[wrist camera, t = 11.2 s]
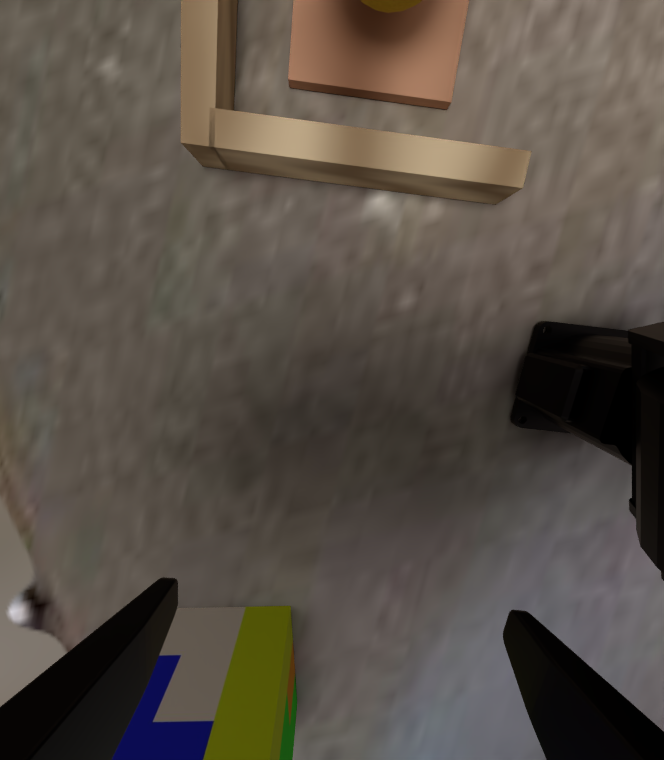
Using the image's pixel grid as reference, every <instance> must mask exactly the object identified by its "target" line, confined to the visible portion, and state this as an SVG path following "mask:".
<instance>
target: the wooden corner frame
mask: <svg viewBox="0 0 664 760" xmlns="http://www.w3.org/2000/svg"><path fill="white" fill-rule="evenodd" d="M468 3H469V0H422V1H421V2H420V3H418V4H417V5H415V6H413V7H411V8H408V9H406V10H404V11H400V12H391V13H386V12H382V11H377V10H374V9H373V8H371V7H369V6H367V5H365V4H364V3H362V2H361V1H360V0H294V4H293V18H292V32H291V47H290V61H289V76H288V81H289V86H290V88H296V89H303V90H310V91H317V92H325V93H332V94H339V95H346V96H353V97H361V98H368V99H375V100H382V101H389V102H396V103H404V104H411V105H418V106H425V107H432V108H440V109H447V108H448V107H449V105H450V103H451V100H452V95H453V89H454V83H455V77H456V72H457V66H458V60H459V55H460V49H461V43H462V37H463V32H464V26H465V20H466V14H467V9H468ZM237 5H238V0H181V143H182V144H183V145H184V147H185V148H186V149H187V150H188V151H189V152H190V153H191V154H192V155H193V156H194V157H195V158H196V159H197V160H198V162H199V163H200V164H201V165H202V166H204V167H212V168H219V169H227V170H235V171H242V172H250V173H257V174H265V175H273V176H280V177H288V178H296V179H303V180H311V181H319V182H326V183H334V184H342V185H349V186H357V187H365V188H372V189H380V190H387V191H395V192H403V193H410V194H418V195H426V196H433V197H441V198H449V199H456V200H464V201H472V202H479V203H487V204H495V205H496V204H497V203H499V202H501V201H502V200H504V199H506V198H507V197H509V196H511V195H512V194H514V193H516V192H517V191H519V190H520V189H522V188H523V185H524V181H525V177H526V172H527V168H528V164H529V160H530V155H531V151H526V150H518V149H511V148H504V147H496V146H489V145H482V144H474V143H467V142H460V141H452V140H445V139H438V138H430V137H423V136H415V135H408V134H401V133H393V132H386V131H379V130H371V129H364V128H357V127H349V126H342V125H335V124H327V123H320V122H313V121H305V120H298V119H291V118H283V117H276V116H269V115H261V114H254V113H247V112H239V111H234V89H235V61H236V33H237Z"/></svg>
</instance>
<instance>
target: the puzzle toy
mask: <svg viewBox="0 0 664 760" xmlns="http://www.w3.org/2000/svg"><path fill="white" fill-rule="evenodd" d="M296 711H297V694H296V679H295V664H294V650H293V635H292V620H291V606H261V607H212V608H177V610H176V613H175V616H174V619H173V621H172V624H171V626H170V629H169V632H168V634H167V637H166V639H165V642H164V644H163V647H162V650H161V652H160V655H159V657H158V660H157V662H156V665H155V668H154V670H153V673H152V675H151V678H150V680H149V683H148V685H147V687H146V689H145V692H144V694H143V696H142V698H141V700H140V702H139V704H138V706H137V708H136V710H135V713H134V715H133V717H132V719H131V721H130V723H129V725H128V727H127V729H126V731H125V733H124V735H123V737H122V739H121V741H120V743H119V745H118V747H117V750H116V752H115V754H114V756H113V758H112V760H292V757H293V746H294V734H295V722H296Z"/></svg>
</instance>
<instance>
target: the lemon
mask: <svg viewBox="0 0 664 760" xmlns="http://www.w3.org/2000/svg"><path fill="white" fill-rule="evenodd" d="M360 1H361V2H362V3H364V4H365V5H367V6H369V7H371V8H373V9H374V10H377V11H382V12H386V13H391V12H400V11H404V10H406V9H408V8H411V7H413V6H415V5H417V4H418V3H420V2H421V1H422V0H360Z"/></svg>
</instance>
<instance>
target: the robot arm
mask: <svg viewBox="0 0 664 760" xmlns="http://www.w3.org/2000/svg"><path fill="white" fill-rule="evenodd" d="M544 327H547V331H546V333H543V329H544ZM521 416H523V419H522V420H521V421H518V419H519V418H520V417H521ZM511 421H512V423H513V424H514V425H516V426H517V427H520V428H529V429H538V430H547V431H556V432H565V433H572V434H574V435H576V436H578V437H580V438H582V439H583V440H585V441H587V442H589V443H591V444H593V445H595V446H596V447H598V448H600V449H602V450H604V451H606V452H608V453H609V454H611V455H613V456H615V457H617V458H619V459H621V460H622V461H624V462H626V463H628V464H630V465H632V498H630V499H629V510H630V512H631V513H632V514H633V516H634V517H635V518H636V530H637V534H638V538H639V542H640V546H641V548H642V549H643V550H644V551H645V553H646V554H647V555H648V557H649V558H650V559H651V560H652V562H653V563H654V564H655V566H656V567H657V568H658V569H659V570H660V571H661V577H662V579H663V581H664V322H661V323H656V324H652V325H647V326H643V327H638V328H634V329H630V330H628V331H624V330H616V329H607V328H599V327H591V326H583V325H574V324H566V323H558V322H549V321H542V322H540V323H538V324H537V325H536V327H535V329H534V332H533V336H532V340H531V344H530V347H529V351H528V355H527V356H526V357H525V361H524V364H523V368H522V372H521V376H520V380H519V383H518V387H517V391H516V400H515V404H514V407H513V411H512V415H511ZM177 606H178V581H177V579H175V578H165V577H163V578H160V579H158V580H157V581H156V582H155V583H153V584H152V585H151V586H150V587H148V588H147V589H146V590H145V591H143V592H142V593H141V594H140V595H139V596H137V597H136V598H135V599H134V600H132V601H131V602H130V603H129V604H127V605H126V606H125V607H124V608H122V609H121V610H120V611H119V612H117V613H116V614H115V615H114V616H112V617H111V618H110V619H109V620H108V621H106V622H105V623H104V624H103V625H101V626H100V627H99V628H98V629H96V630H95V631H94V632H93V633H91V634H90V635H89V636H88V637H86V638H85V639H84V640H83V641H81V642H80V643H79V644H78V645H76V646H75V647H74V648H73V649H72V650H70V651H69V652H68V653H67V654H65V655H64V656H63V657H62V658H60V659H59V660H58V661H57V662H55V663H54V664H53V665H52V666H50V667H49V668H48V669H47V670H46V671H44V672H43V673H42V674H41V675H39V676H38V677H37V678H36V679H35V680H33V681H32V682H31V683H29V684H28V685H27V686H26V687H24V688H23V689H22V690H21V691H19V692H18V693H17V694H16V695H14V696H13V697H12V698H11V699H10V700H8V701H7V702H6V703H5V704H3V705H2V706H1V707H0V760H112V758H113V756H114V754H115V752H116V750H117V747H118V745H119V743H120V741H121V739H122V737H123V735H124V733H125V731H126V729H127V727H128V725H129V723H130V721H131V719H132V717H133V715H134V713H135V710H136V708H137V706H138V704H139V702H140V700H141V698H142V696H143V694H144V692H145V689H146V687H147V685H148V683H149V680H150V678H151V675H152V673H153V670H154V668H155V665H156V662H157V660H158V657H159V655H160V652H161V650H162V647H163V644H164V642H165V639H166V637H167V634H168V632H169V629H170V626H171V624H172V621H173V619H174V616H175V613H176V610H177ZM503 640H504V644H505V647H506V650H507V653H508V656H509V659H510V662H511V665H512V668H513V671H514V674H515V677H516V680H517V683H518V686H519V689H520V692H521V695H522V698H523V701H524V704H525V707H526V709H527V712H528V715H529V718H530V720H531V723H532V725H533V728H534V730H535V733H536V735H537V737H538V740H539V742H540V745H541V747H542V749H543V752H544V754H545V757H546V759H547V760H664V732H663V731H662V730H661V729H660V728H659V727H658V726H657V725H656V724H654V723H653V722H652V721H651V720H650V719H649V718H648V717H646V716H645V715H644V714H643V713H642V712H641V711H640V710H639V709H637V708H636V707H635V706H634V705H633V704H632V703H631V702H629V701H628V700H627V699H626V698H625V697H624V696H623V695H622V694H620V693H619V692H618V691H617V690H616V689H615V688H614V687H612V686H611V685H610V684H609V683H608V682H607V681H606V680H605V679H603V678H602V677H601V676H600V675H599V674H598V673H597V672H595V671H594V670H593V669H592V668H591V667H590V666H589V665H588V664H586V663H585V662H584V661H583V660H582V659H581V658H580V657H579V656H577V655H576V654H575V653H574V652H573V651H572V650H571V649H569V648H568V647H567V646H566V645H565V644H564V643H563V642H562V641H560V640H559V639H558V638H557V637H556V636H555V635H554V634H552V633H551V632H550V631H549V630H548V629H547V628H546V627H545V626H543V625H542V624H541V623H540V622H539V621H538V620H537V619H535V618H534V617H533V616H532V615H531V614H530V613H528V612H526V611H521V610H511V611H510V612H509V615H508V618H507V621H506V625H505V628H504V631H503Z"/></svg>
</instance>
